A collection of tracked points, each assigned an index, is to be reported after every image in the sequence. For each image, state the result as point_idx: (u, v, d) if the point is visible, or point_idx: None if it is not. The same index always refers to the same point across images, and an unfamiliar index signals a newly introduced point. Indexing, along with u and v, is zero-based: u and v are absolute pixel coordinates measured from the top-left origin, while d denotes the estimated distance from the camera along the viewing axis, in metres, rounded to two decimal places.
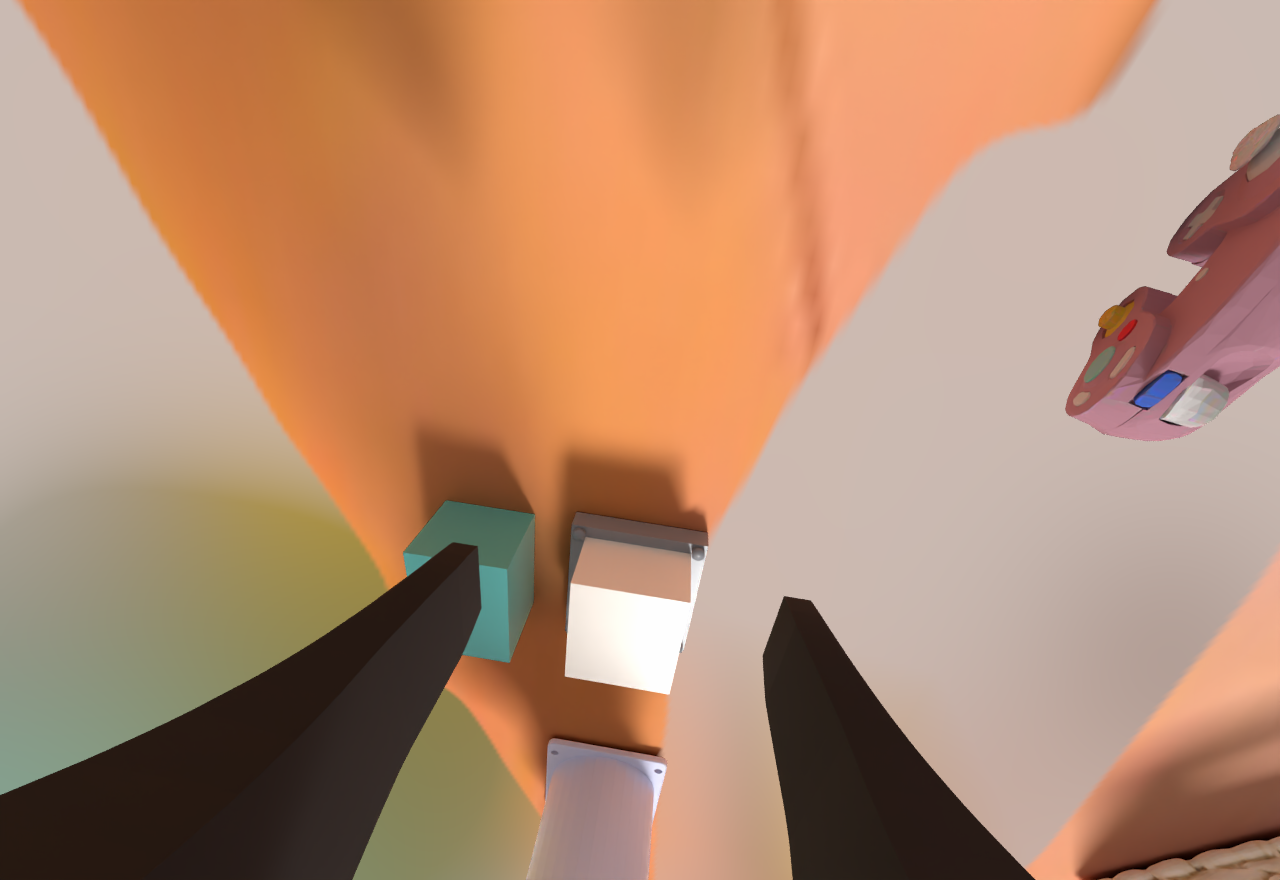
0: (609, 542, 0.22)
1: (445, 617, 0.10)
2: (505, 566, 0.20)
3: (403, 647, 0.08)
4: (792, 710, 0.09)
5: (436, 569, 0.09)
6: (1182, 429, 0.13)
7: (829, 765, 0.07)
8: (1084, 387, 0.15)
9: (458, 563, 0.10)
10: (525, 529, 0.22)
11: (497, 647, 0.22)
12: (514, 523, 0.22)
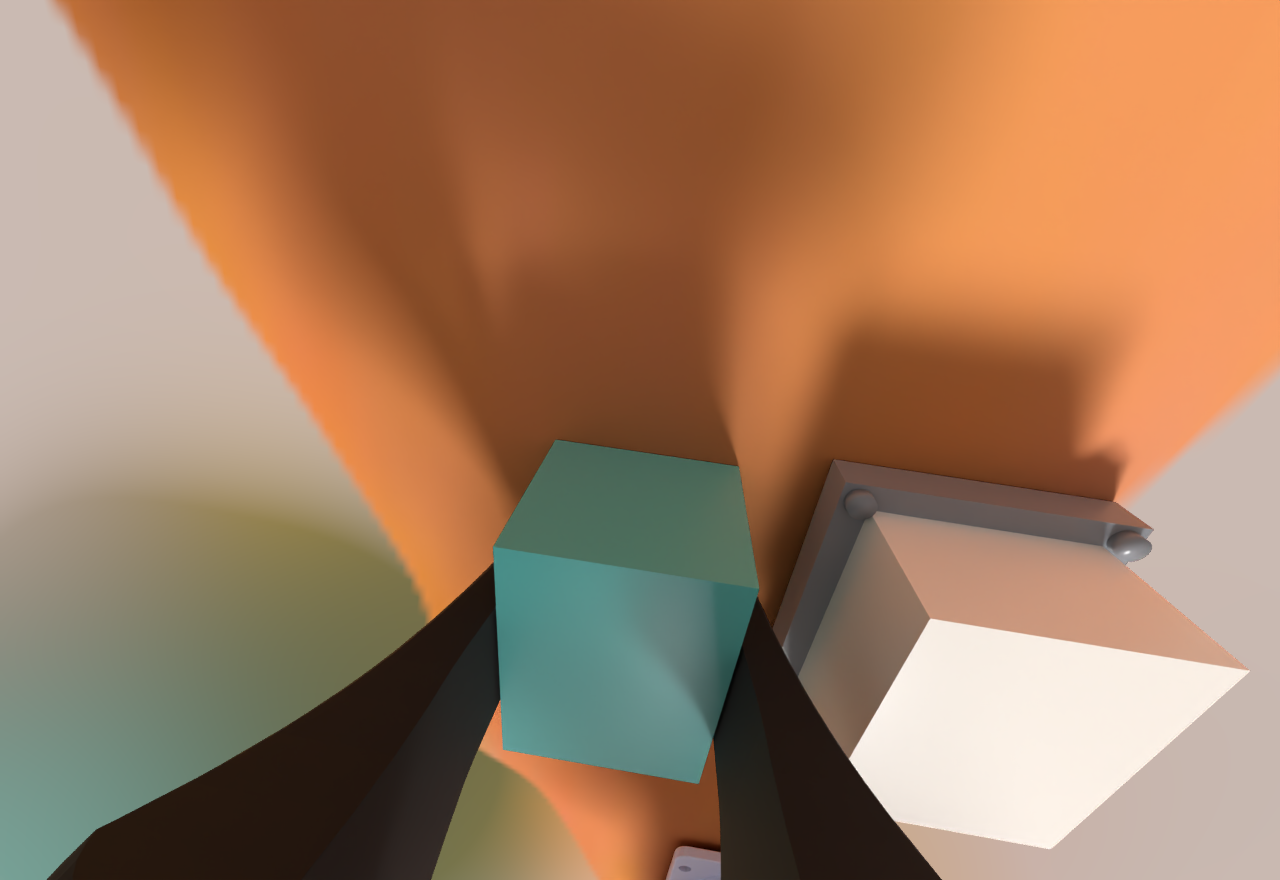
0: (925, 521, 0.10)
1: None
2: (751, 581, 0.08)
3: (473, 659, 0.08)
4: (727, 698, 0.09)
5: None
6: None
7: (750, 751, 0.07)
8: None
9: None
10: (739, 497, 0.10)
11: (679, 756, 0.10)
12: (711, 486, 0.10)
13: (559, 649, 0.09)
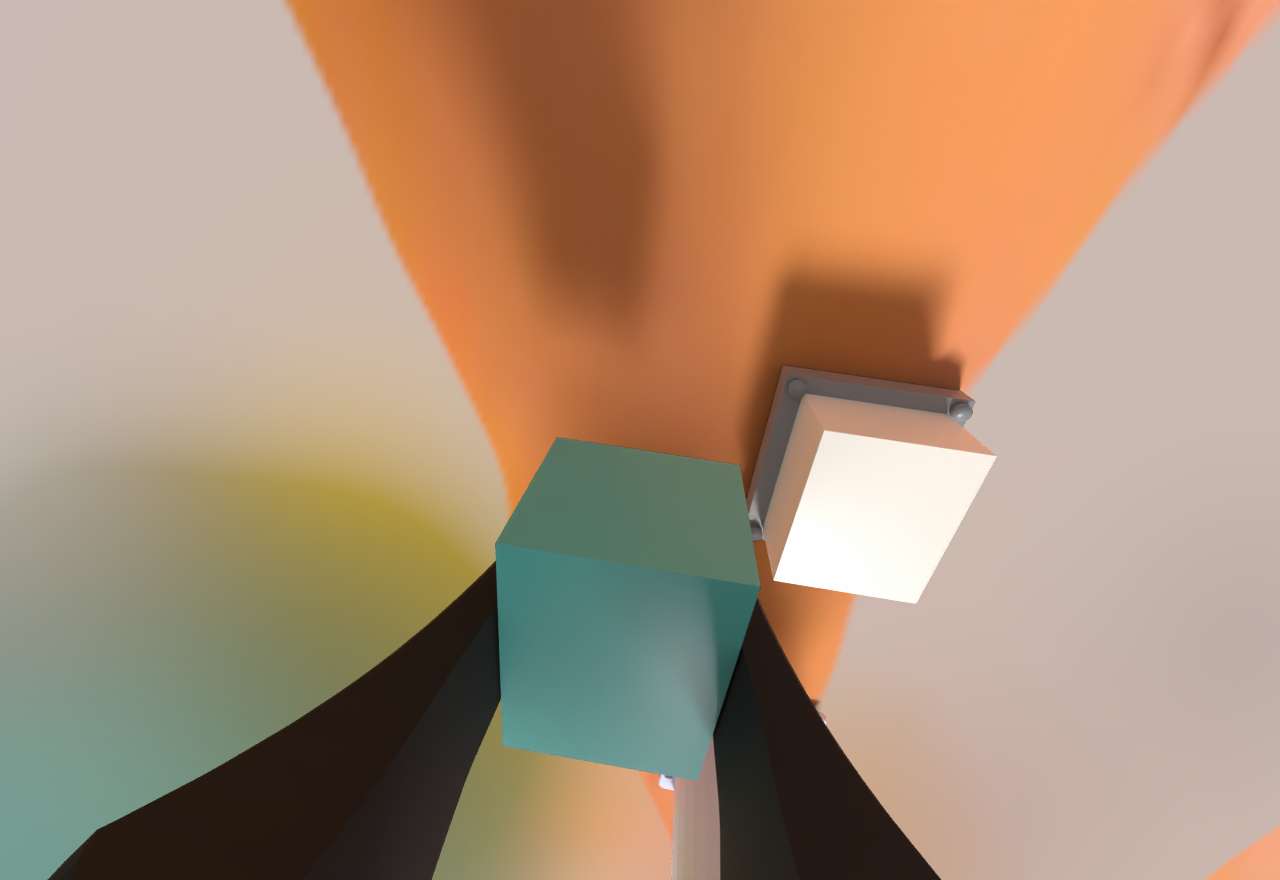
0: (837, 399, 0.16)
1: None
2: (752, 578, 0.08)
3: (474, 659, 0.08)
4: (727, 698, 0.09)
5: None
6: None
7: (749, 751, 0.07)
8: None
9: None
10: (740, 495, 0.10)
11: (678, 753, 0.10)
12: (712, 484, 0.10)
13: (559, 646, 0.09)
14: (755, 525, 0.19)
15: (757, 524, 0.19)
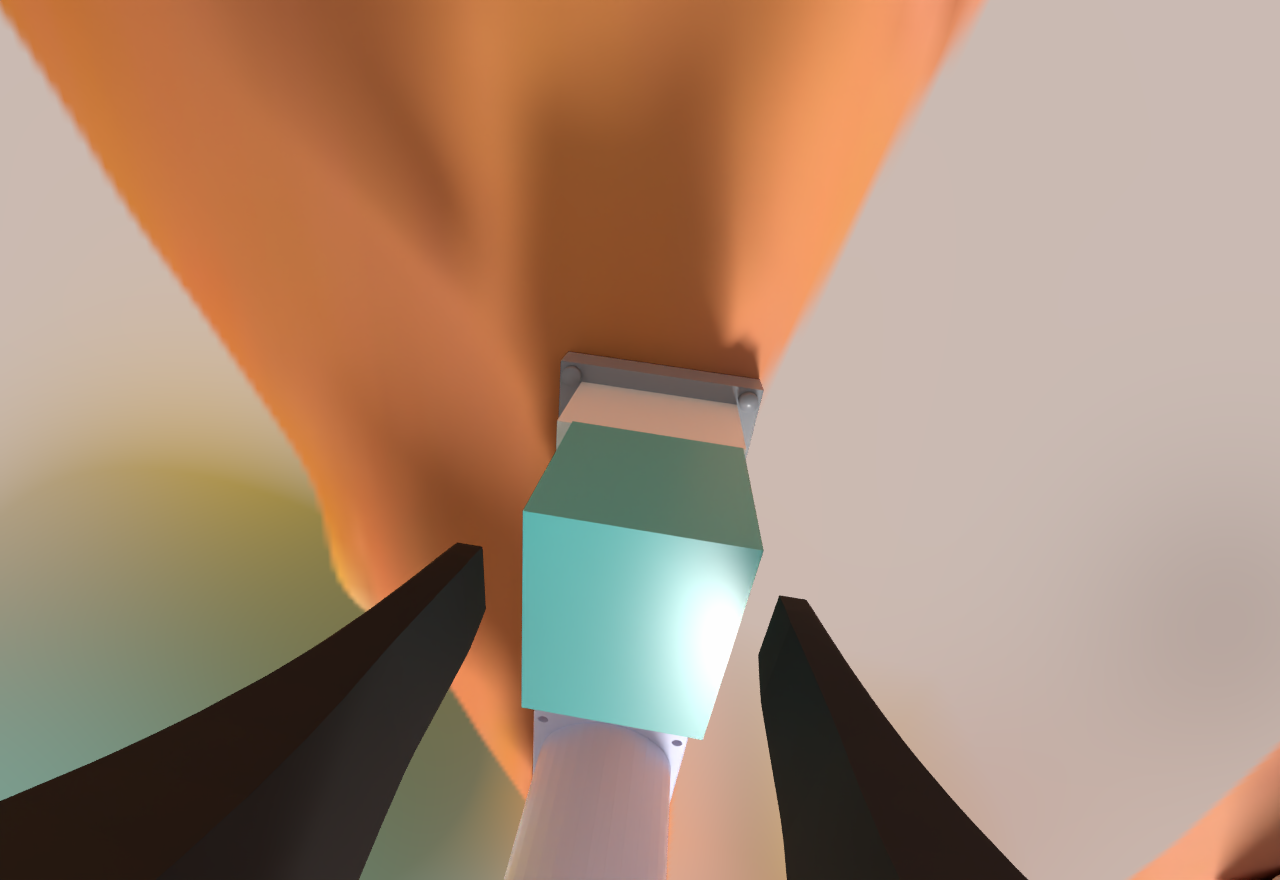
0: (617, 388, 0.15)
1: (450, 618, 0.10)
2: (755, 544, 0.09)
3: (409, 648, 0.08)
4: (787, 708, 0.09)
5: (441, 570, 0.09)
6: None
7: (823, 764, 0.07)
8: None
9: (463, 564, 0.10)
10: (744, 474, 0.11)
11: (685, 713, 0.11)
12: (718, 464, 0.11)
13: (579, 608, 0.10)
14: None
15: None
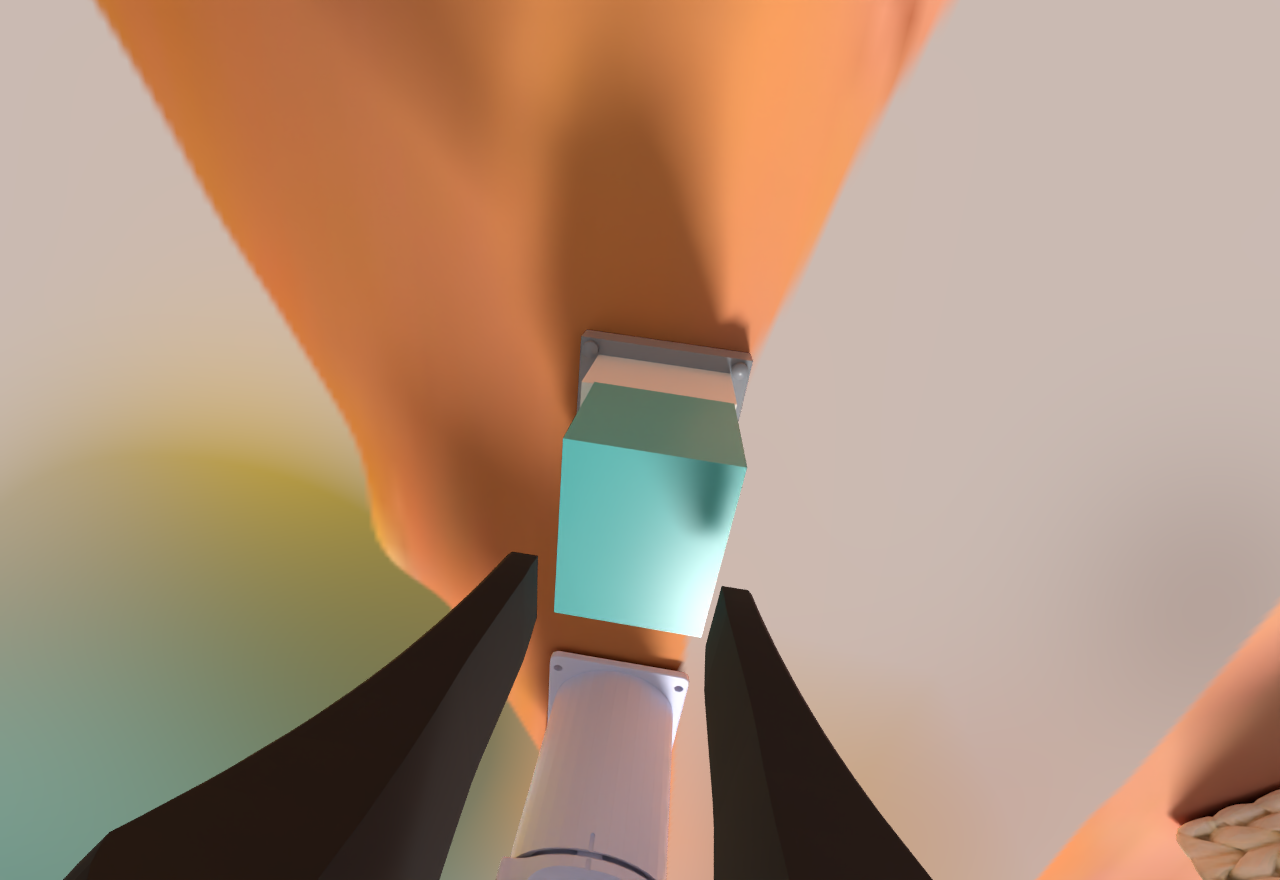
0: (629, 360, 0.17)
1: (512, 629, 0.09)
2: (741, 463, 0.11)
3: (481, 661, 0.08)
4: (721, 697, 0.09)
5: (503, 580, 0.09)
6: None
7: (742, 750, 0.07)
8: None
9: (523, 574, 0.10)
10: (734, 420, 0.14)
11: (687, 612, 0.14)
12: (713, 413, 0.14)
13: (603, 521, 0.12)
14: None
15: None
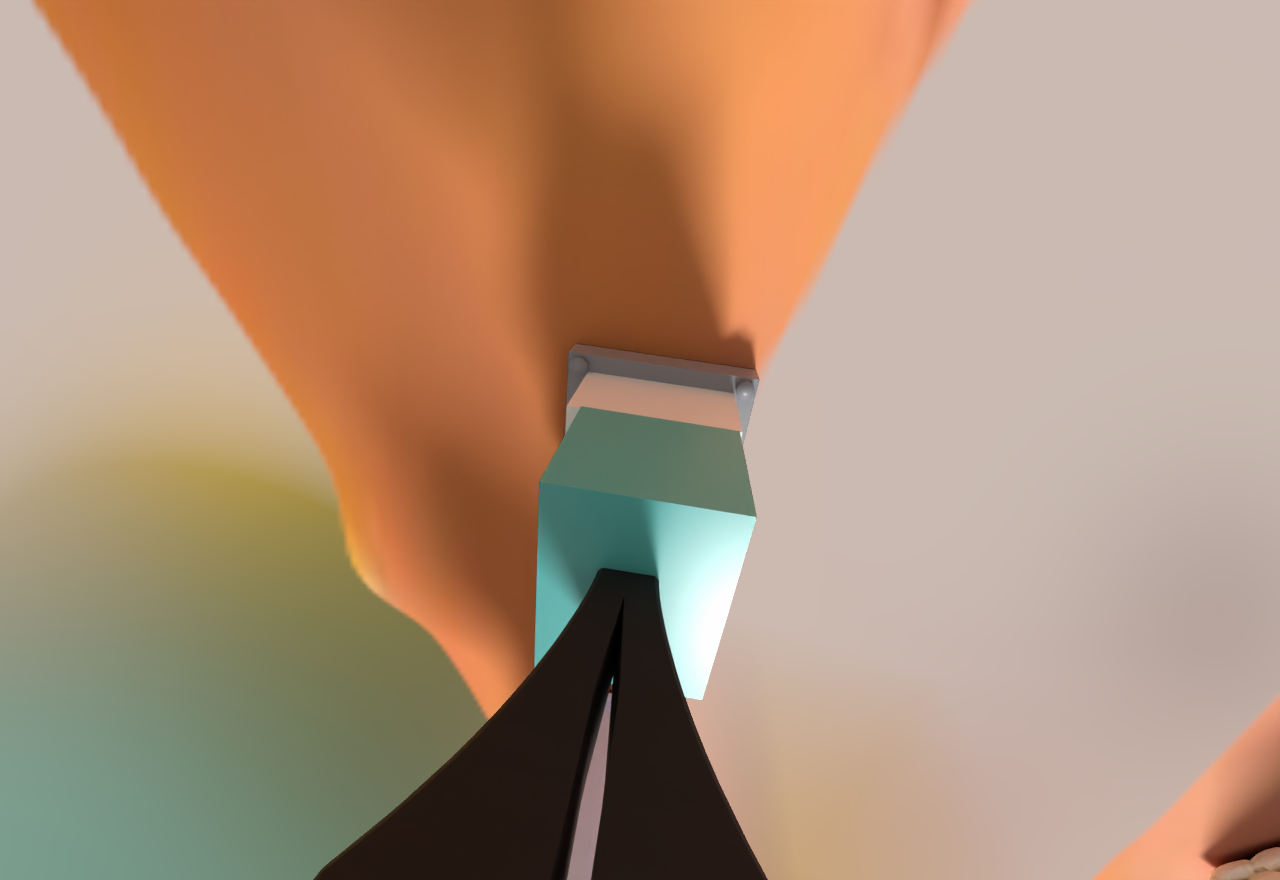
0: (621, 377, 0.16)
1: (613, 646, 0.09)
2: (749, 511, 0.10)
3: (599, 681, 0.08)
4: (615, 678, 0.09)
5: (606, 597, 0.09)
6: None
7: (613, 727, 0.08)
8: None
9: (622, 590, 0.10)
10: (740, 453, 0.12)
11: (686, 673, 0.12)
12: (716, 445, 0.12)
13: (588, 574, 0.11)
14: None
15: None
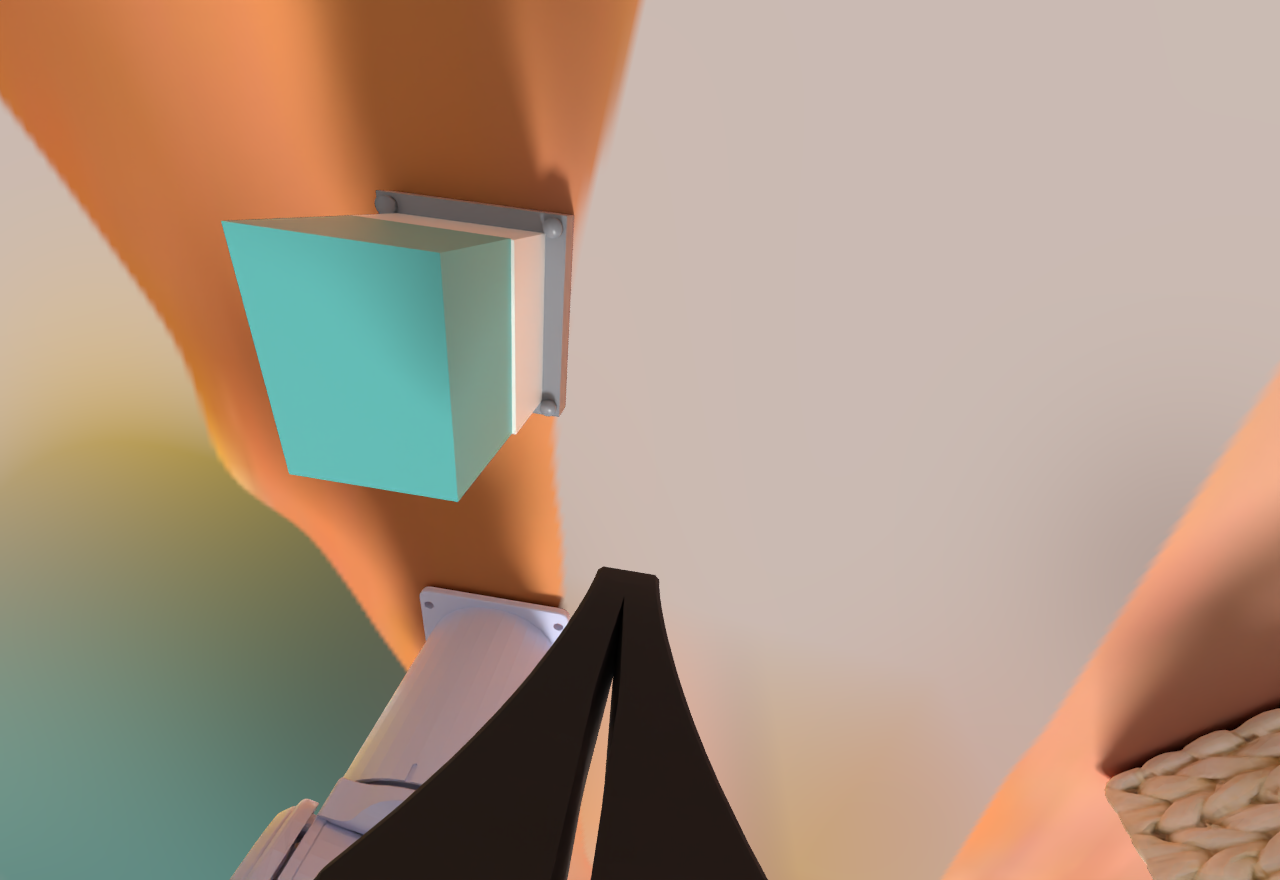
0: (430, 218, 0.15)
1: (613, 646, 0.09)
2: (437, 251, 0.09)
3: (599, 681, 0.08)
4: (615, 679, 0.09)
5: (606, 597, 0.09)
6: None
7: (613, 727, 0.08)
8: None
9: (622, 590, 0.10)
10: (488, 241, 0.11)
11: (433, 467, 0.12)
12: (468, 237, 0.12)
13: (303, 341, 0.10)
14: None
15: None
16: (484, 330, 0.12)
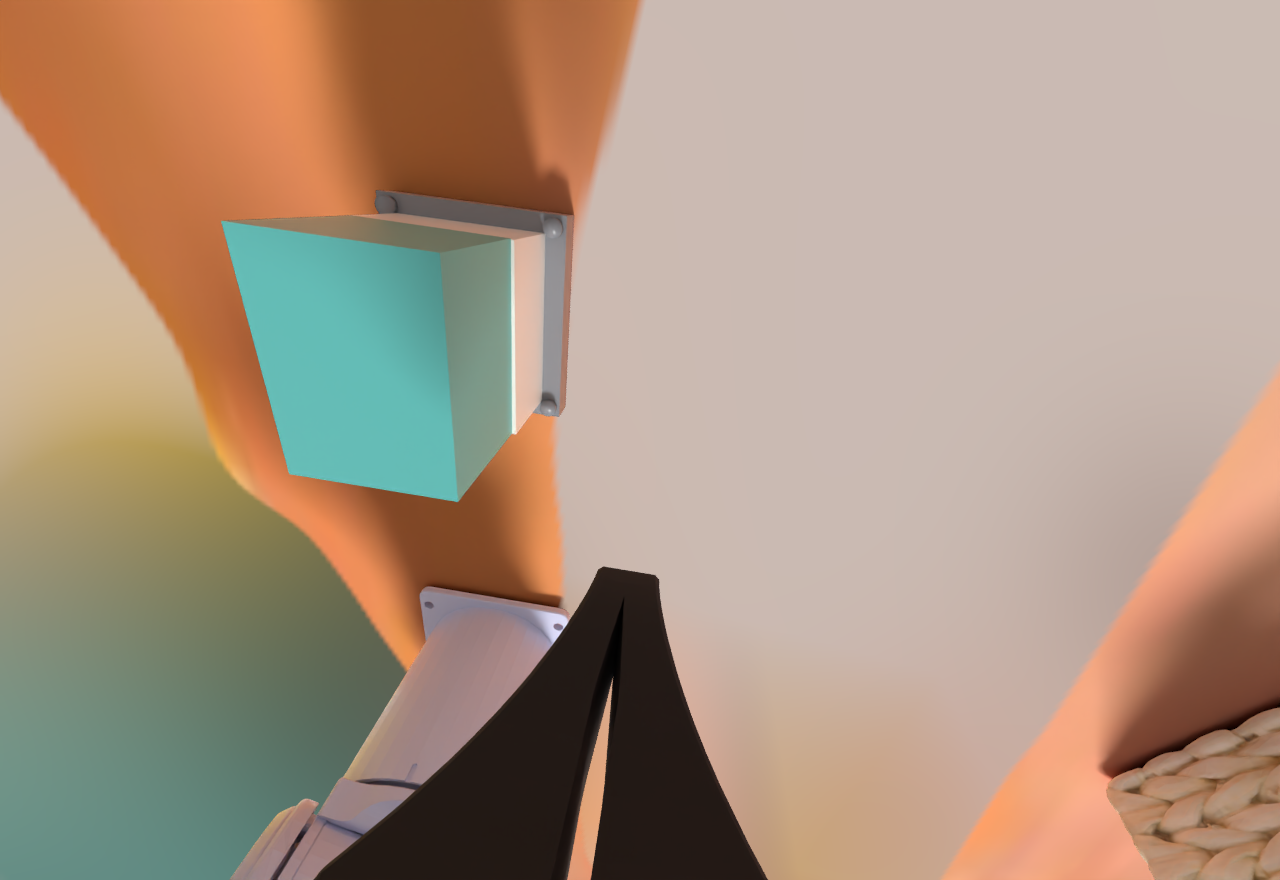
0: (430, 218, 0.15)
1: (613, 646, 0.09)
2: (437, 251, 0.09)
3: (599, 681, 0.08)
4: (615, 679, 0.09)
5: (606, 597, 0.09)
6: None
7: (613, 727, 0.08)
8: None
9: (622, 590, 0.10)
10: (488, 241, 0.11)
11: (433, 467, 0.12)
12: (468, 237, 0.12)
13: (303, 341, 0.10)
14: None
15: None
16: (484, 330, 0.12)
